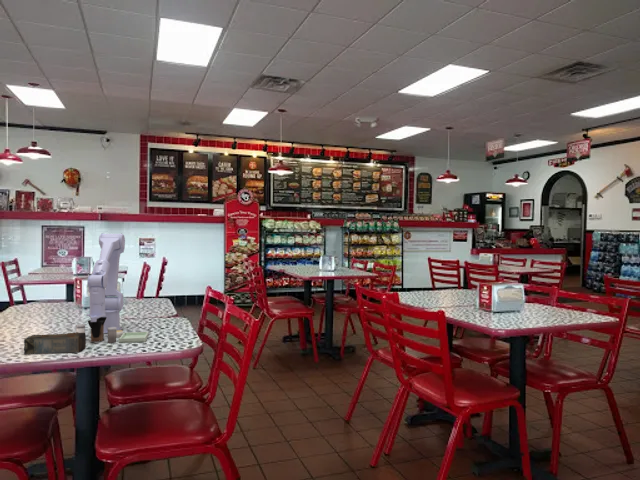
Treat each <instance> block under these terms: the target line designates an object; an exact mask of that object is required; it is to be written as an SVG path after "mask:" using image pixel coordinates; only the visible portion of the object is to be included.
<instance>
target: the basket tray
mask: <svg viewBox="0 0 640 480" xmlns="http://www.w3.org/2000/svg"><path fill="white" fill-rule="evenodd" d="M149 333H150V332H149V331H140V332H139V331H133V332H131V331H130V332H123V334H122V336H121V337H120V338H118V344H130V343H131V344H133V343H146V342H147V340H148V338H149V337H150V335H149Z"/></svg>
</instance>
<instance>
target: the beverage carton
mask: <svg viewBox="0 0 640 480" xmlns="http://www.w3.org/2000/svg"><path fill="white" fill-rule="evenodd" d="M86 339H87V337H86V332H85V333H78V332H76V331H75V332H68V333H53V334H52V333H51V334H33V335H28V336H27V337H26V338H24V340H23V354H24V355H44V354H45V355H46V354H47V355H49V354H66V353H67V354H68V353H69V354H70V353H80V352H81V351H83V350H84V349H86V347H87V346H86V343H87V341H86Z"/></svg>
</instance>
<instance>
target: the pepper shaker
mask: <svg viewBox="0 0 640 480" xmlns="http://www.w3.org/2000/svg"><path fill="white" fill-rule="evenodd" d="M116 330H117V327H108V333H107V344H115V343H117V338H116Z"/></svg>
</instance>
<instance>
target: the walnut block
mask: <svg viewBox="0 0 640 480" xmlns="http://www.w3.org/2000/svg"><path fill="white" fill-rule="evenodd" d="M104 337H105V333H104V325H101V329H100V335H99V338H93V335H92V331H91V330H90V342H102V341H103V340H104Z"/></svg>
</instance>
